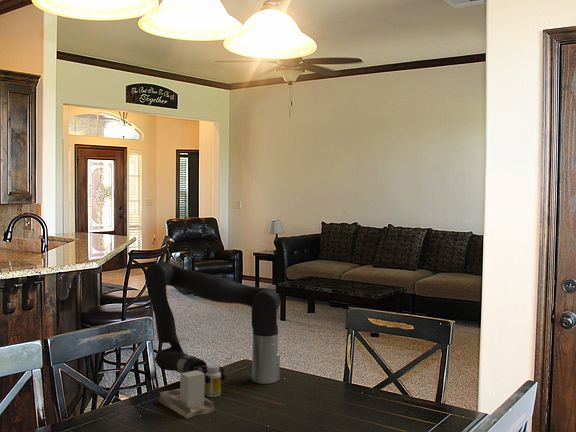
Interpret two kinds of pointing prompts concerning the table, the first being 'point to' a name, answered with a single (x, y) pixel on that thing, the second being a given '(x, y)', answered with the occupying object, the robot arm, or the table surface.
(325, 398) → the table surface
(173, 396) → the birch tray
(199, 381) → the white padded block
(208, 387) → the supplement bottle
